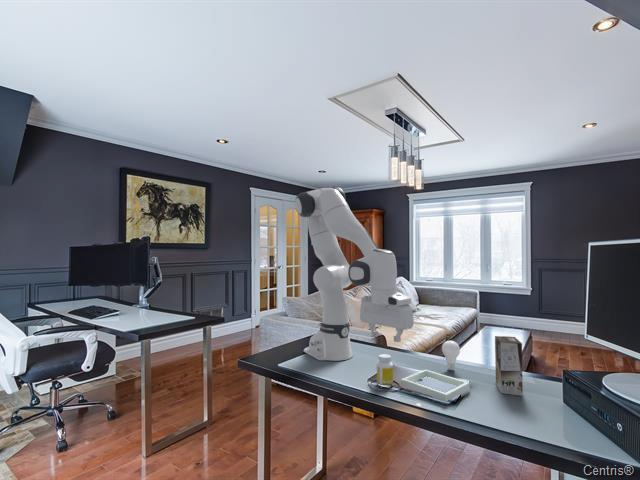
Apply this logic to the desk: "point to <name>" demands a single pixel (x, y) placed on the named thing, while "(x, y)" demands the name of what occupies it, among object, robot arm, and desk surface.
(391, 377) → the supplement bottle
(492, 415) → the desk surface
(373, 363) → the desk surface
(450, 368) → the lightbulb
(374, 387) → the socket ring
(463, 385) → the tray
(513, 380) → the coffee box
